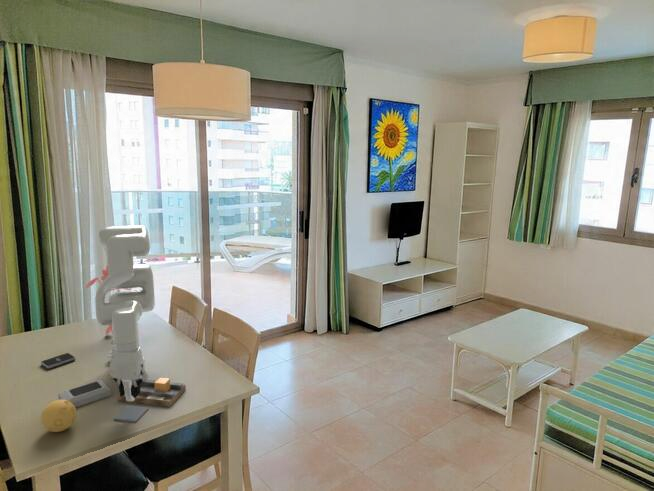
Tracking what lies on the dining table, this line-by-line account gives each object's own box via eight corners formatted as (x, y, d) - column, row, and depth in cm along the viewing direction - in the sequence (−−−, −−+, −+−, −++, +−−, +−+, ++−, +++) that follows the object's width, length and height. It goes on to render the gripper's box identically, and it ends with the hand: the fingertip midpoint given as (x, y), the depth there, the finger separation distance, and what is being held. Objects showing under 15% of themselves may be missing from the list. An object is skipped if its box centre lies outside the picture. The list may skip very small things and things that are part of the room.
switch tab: (155, 392, 164) (154, 382, 163) (160, 387, 168) (159, 377, 167) (165, 393, 164) (164, 383, 163) (170, 388, 167) (169, 378, 167)
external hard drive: (40, 366, 187) (40, 361, 187) (68, 356, 196) (68, 352, 195) (48, 371, 183) (47, 366, 183) (76, 361, 192) (75, 357, 191)
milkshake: (124, 396, 155) (120, 369, 153) (140, 395, 156) (137, 368, 154) (119, 403, 151) (115, 376, 149) (136, 402, 151) (132, 374, 149)
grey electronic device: (57, 391, 162) (101, 377, 172) (58, 400, 163) (102, 386, 173) (65, 402, 155) (110, 386, 166) (66, 411, 156) (111, 395, 166)
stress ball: (38, 437, 143) (42, 431, 136) (39, 406, 147) (42, 398, 140) (74, 431, 149) (79, 424, 142) (73, 401, 153) (78, 393, 146)
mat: (113, 420, 151) (113, 418, 151) (127, 406, 159) (127, 405, 159) (135, 422, 150) (135, 421, 150) (148, 409, 158) (148, 407, 158)
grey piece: (118, 400, 163) (117, 391, 162) (137, 384, 174) (136, 375, 173) (170, 406, 160) (169, 397, 159) (185, 389, 171) (185, 380, 171)
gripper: (95, 347, 147) (100, 398, 150) (143, 351, 144) (147, 403, 148) (110, 338, 154) (114, 387, 158) (155, 342, 151) (158, 391, 155)
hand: (130, 394), depth 153 cm, fingers closed on milkshake, 4 cm apart
